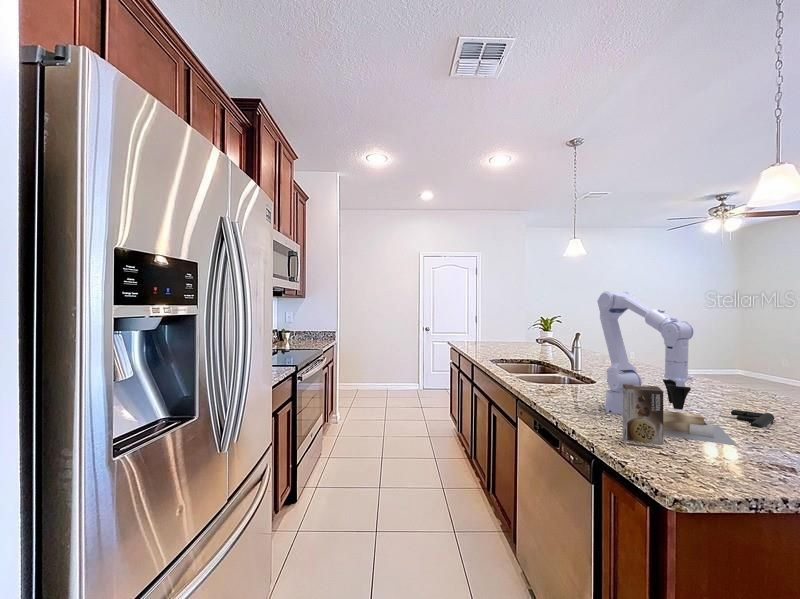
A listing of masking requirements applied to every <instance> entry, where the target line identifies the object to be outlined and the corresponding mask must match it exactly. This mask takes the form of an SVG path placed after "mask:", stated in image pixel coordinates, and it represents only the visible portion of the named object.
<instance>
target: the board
mask: <svg viewBox="0 0 800 599" xmlns="http://www.w3.org/2000/svg"><path fill="white" fill-rule="evenodd" d="M710 424H711V423H710ZM711 425H712V426H713V427H714V438H713V437H705V436H698V435H690V434H689V433H687V432H680V431H672V430H664V429H663V434H664V436H665V437H672V438H678V439H679V438H680V439H686V440H693V441H701V442H708V443H716V444H722V445H730V446H737V447H738V446H739V444H737V443H736V442H735V440H733V439H732V438H731V437H730V435H728V433H726V431H725V430H723V429H722V428H721V426H719V425H718V424H711ZM664 436H663V437H664Z"/></svg>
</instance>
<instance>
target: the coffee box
mask: <svg viewBox="0 0 800 599" xmlns="http://www.w3.org/2000/svg"><path fill="white" fill-rule="evenodd" d="M663 411H664V390H662V389H661V388H660V387H659V386H657V385H643V384H641V385H628V384H623V415H622V440H623V441H624V443H625V445H626V446H630V445H631V446H632V447H641V448H650V449H660V450H664V447H657V446H651V445H645V444H637V443H633V442H641V443H648V444H649V443H650V444H660V445H664V444H665V443H664V441H665V440H664V434H663ZM628 441H632V443H631V442H628Z"/></svg>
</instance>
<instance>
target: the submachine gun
mask: <svg viewBox="0 0 800 599" xmlns="http://www.w3.org/2000/svg"><path fill="white" fill-rule="evenodd" d="M730 415H731V416H728V415H722V414H719V415H718V417H723V418H728V419H732V420H733V419H734V420H737V421H742V422H745V423H746V422H747V423H749V424H750V425H749V426H750V427H752V428H759V429H768V428H769V427H770V426H771V425H772V422H777V420H775V419H776V417H775V416H774V414H772V413H770V412H765V413H763V412H762V413H761V412H755V411H747V410H739V409H732V410H731V412H730Z"/></svg>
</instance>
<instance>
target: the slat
mask: <svg viewBox="0 0 800 599" xmlns="http://www.w3.org/2000/svg"><path fill="white" fill-rule="evenodd" d="M704 421H705V416H703V414H695V413H686V412H680V411H679V412H678V411H668V410H663V429H664V430H672V431H680V432H687V433H689V423H692V424H701V425H704Z"/></svg>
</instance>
